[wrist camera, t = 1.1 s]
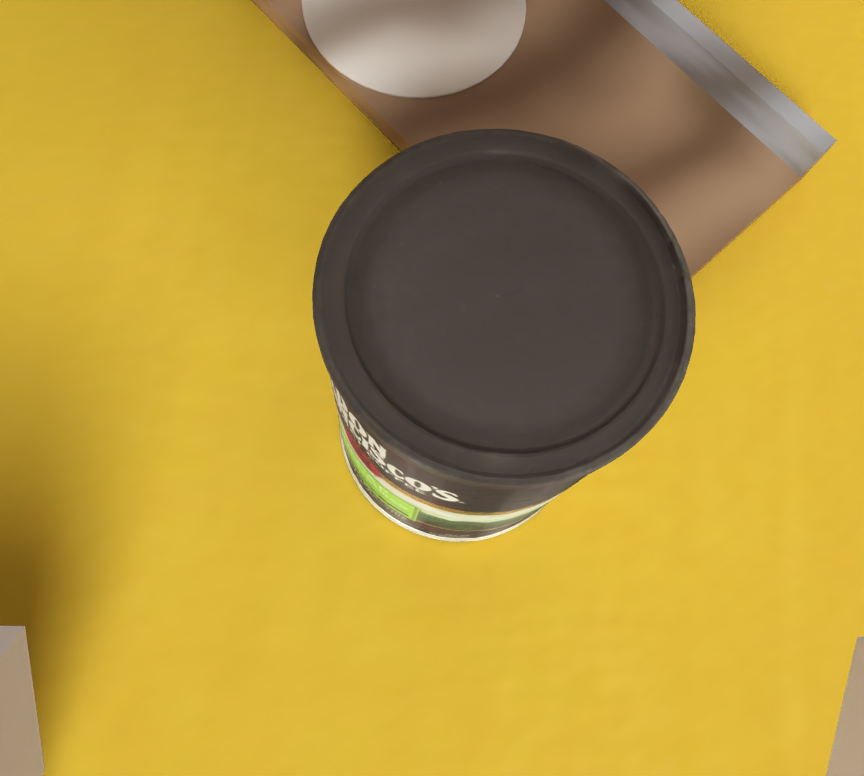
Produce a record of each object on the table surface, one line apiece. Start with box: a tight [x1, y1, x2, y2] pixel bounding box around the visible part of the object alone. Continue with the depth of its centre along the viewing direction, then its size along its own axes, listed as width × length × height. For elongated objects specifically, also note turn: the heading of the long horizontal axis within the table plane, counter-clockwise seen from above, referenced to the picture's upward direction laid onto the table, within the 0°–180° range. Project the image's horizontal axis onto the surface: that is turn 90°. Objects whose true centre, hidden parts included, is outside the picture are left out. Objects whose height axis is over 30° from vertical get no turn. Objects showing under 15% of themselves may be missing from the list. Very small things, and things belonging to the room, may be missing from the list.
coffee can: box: [312, 129, 695, 542], centre depth 28 cm, size 10×10×14 cm
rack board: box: [252, 0, 837, 278], centre depth 38 cm, size 26×14×3 cm, turn 42°
